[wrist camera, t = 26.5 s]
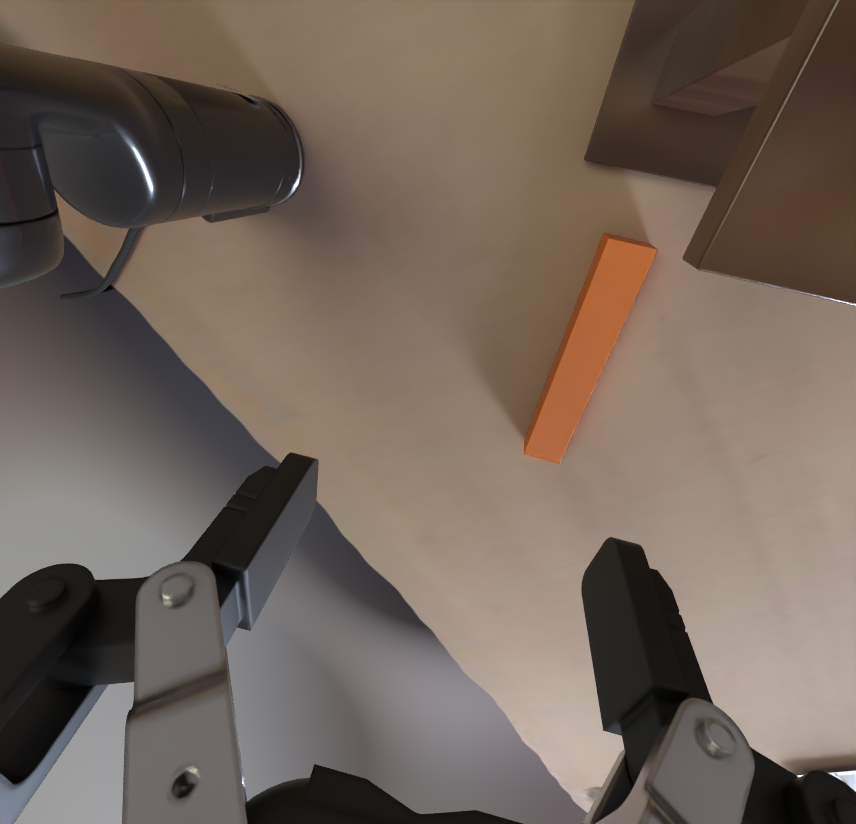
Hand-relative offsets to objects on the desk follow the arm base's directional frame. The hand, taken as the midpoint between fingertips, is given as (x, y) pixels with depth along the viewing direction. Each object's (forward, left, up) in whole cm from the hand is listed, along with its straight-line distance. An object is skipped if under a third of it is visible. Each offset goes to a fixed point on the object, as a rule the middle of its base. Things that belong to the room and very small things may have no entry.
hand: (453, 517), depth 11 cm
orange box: (-3, -13, -37) cm, 39 cm away
